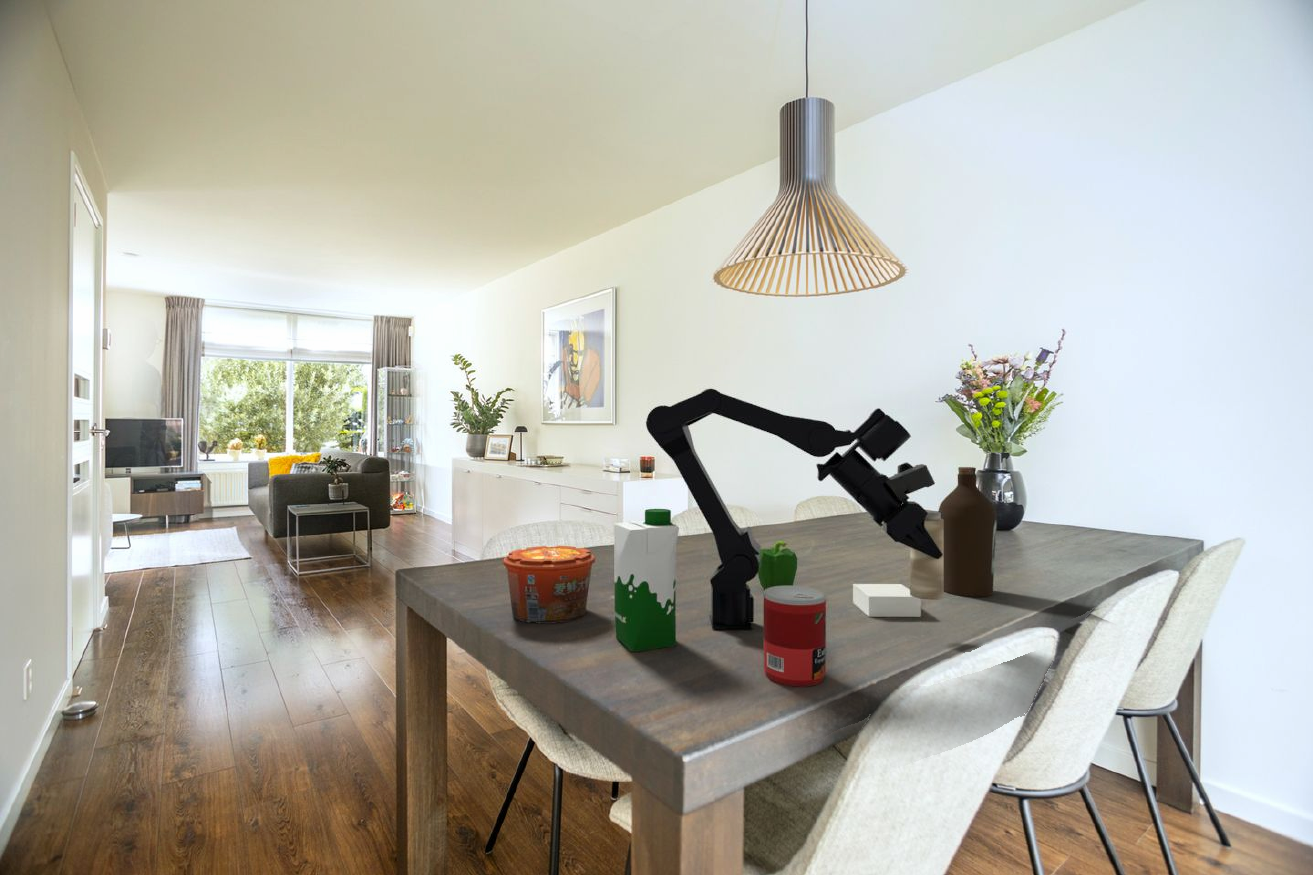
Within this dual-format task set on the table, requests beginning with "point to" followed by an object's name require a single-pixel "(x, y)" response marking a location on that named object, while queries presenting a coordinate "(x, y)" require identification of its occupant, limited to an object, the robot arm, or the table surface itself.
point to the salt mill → (928, 563)
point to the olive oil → (968, 538)
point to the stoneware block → (886, 600)
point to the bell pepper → (777, 566)
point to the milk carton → (646, 581)
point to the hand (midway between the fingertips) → (936, 553)
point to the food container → (549, 582)
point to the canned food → (794, 635)
